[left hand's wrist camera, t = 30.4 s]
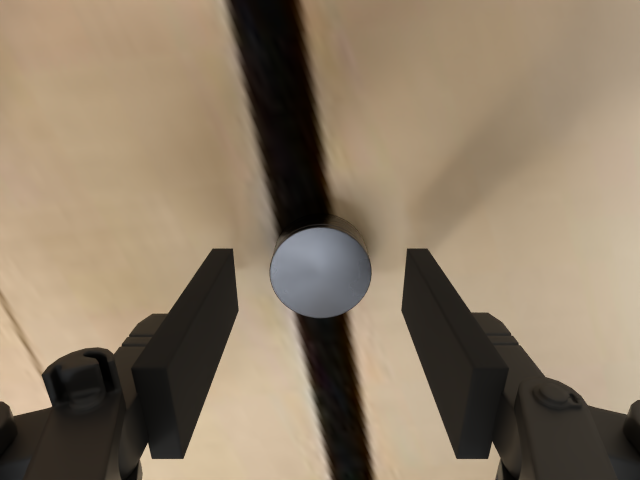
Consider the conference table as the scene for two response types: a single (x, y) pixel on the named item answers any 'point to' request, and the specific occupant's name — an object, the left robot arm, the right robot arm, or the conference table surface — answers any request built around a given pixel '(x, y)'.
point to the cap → (320, 266)
